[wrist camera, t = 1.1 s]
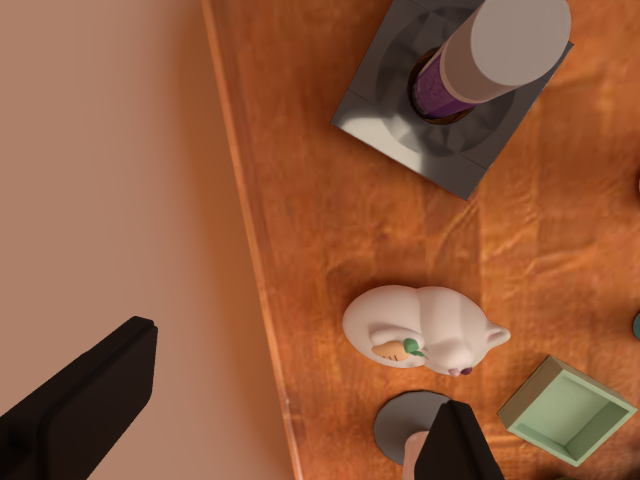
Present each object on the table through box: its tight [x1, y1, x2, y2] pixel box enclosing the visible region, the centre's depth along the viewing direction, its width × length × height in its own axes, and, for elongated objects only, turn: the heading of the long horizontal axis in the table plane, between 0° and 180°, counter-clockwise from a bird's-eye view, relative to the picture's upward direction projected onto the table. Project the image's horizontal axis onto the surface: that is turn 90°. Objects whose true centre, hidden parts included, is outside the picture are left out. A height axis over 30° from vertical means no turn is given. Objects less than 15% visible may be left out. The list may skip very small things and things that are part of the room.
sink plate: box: [330, 0, 574, 201], centre depth 28 cm, size 14×14×3 cm
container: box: [410, 0, 571, 119], centre depth 22 cm, size 5×5×15 cm
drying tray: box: [497, 355, 638, 467], centre depth 35 cm, size 9×9×2 cm
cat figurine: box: [342, 285, 511, 377], centre depth 31 cm, size 10×8×15 cm
